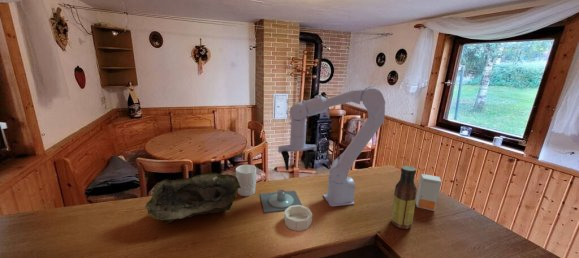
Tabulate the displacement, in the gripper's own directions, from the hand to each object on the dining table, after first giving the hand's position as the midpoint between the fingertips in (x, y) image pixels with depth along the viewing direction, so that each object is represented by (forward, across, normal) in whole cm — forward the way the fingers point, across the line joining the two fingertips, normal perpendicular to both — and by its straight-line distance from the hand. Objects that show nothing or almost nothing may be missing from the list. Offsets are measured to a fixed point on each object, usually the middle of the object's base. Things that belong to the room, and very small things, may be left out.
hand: (296, 168), depth 92 cm
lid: (+10, +7, +5) cm, 13 cm away
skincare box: (+11, -45, +18) cm, 50 cm away
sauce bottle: (+11, -29, +25) cm, 40 cm away
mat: (+10, +7, +5) cm, 13 cm away
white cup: (+11, +19, -4) cm, 22 cm away
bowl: (+10, +4, +18) cm, 21 cm away
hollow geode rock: (+11, +36, +8) cm, 38 cm away
